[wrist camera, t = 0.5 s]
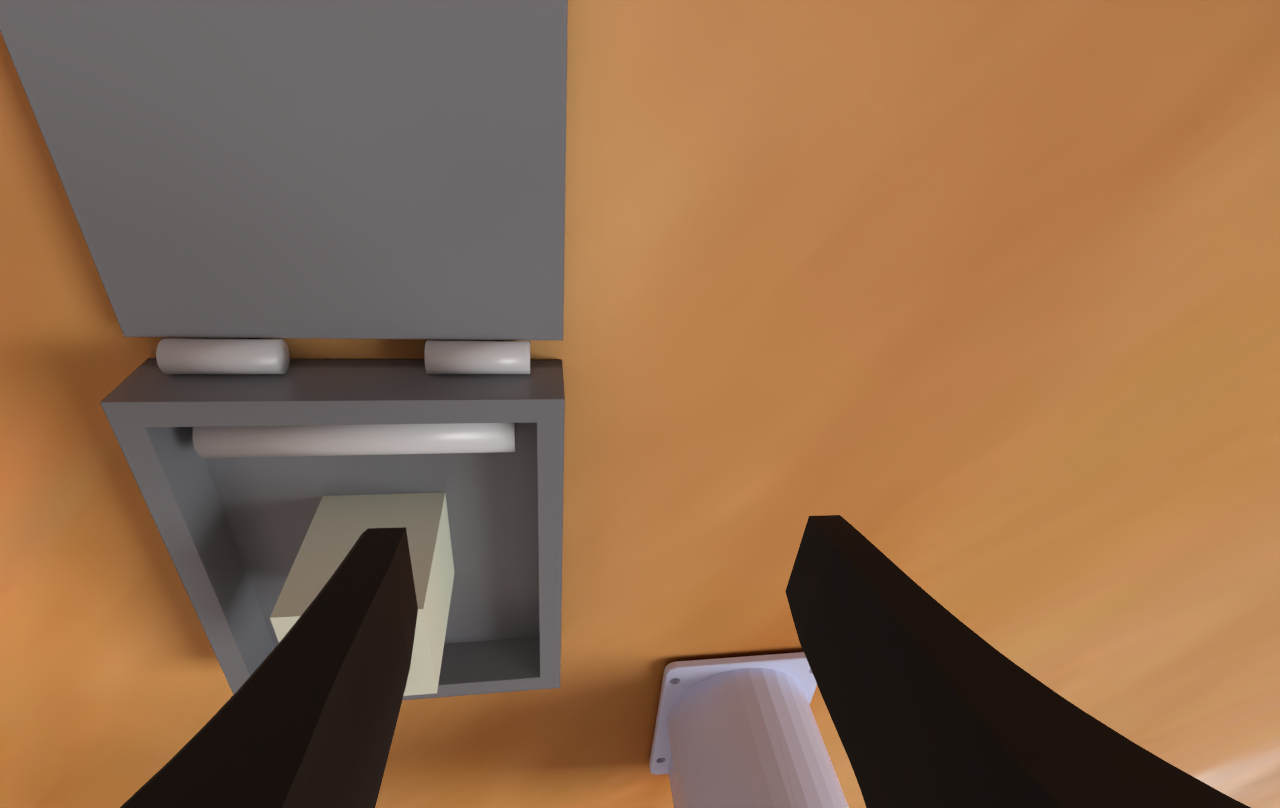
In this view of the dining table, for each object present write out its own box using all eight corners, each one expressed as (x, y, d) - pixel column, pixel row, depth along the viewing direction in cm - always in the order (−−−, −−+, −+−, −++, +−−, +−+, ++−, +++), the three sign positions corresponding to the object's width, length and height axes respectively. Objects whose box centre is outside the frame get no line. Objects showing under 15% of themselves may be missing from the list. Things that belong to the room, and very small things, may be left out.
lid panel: (561, 359, 20) (563, 380, 19) (148, 358, 18) (123, 381, 17) (567, -65, 14) (569, -71, 13) (-44, -133, 12) (-100, -146, 11)
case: (558, 638, 27) (559, 687, 25) (265, 657, 26) (242, 712, 24) (561, 359, 20) (564, 399, 18) (148, 358, 18) (100, 402, 16)
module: (454, 572, 24) (435, 705, 19) (343, 577, 23) (296, 716, 19) (445, 492, 22) (421, 621, 17) (322, 495, 21) (264, 630, 17)
